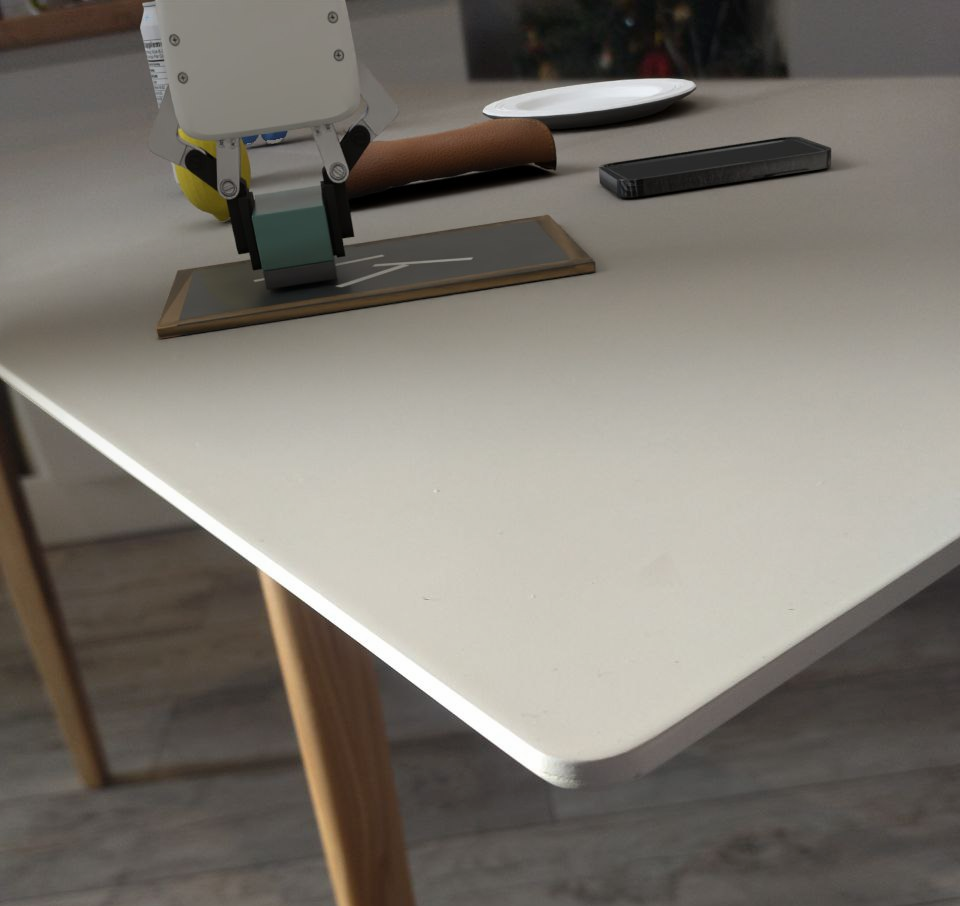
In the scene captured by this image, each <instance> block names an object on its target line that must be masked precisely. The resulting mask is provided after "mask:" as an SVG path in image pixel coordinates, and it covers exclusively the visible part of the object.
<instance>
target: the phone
mask: <svg viewBox="0 0 960 906" xmlns="http://www.w3.org/2000/svg"><path fill="white" fill-rule="evenodd" d="M831 166H832V148H831V147H830V146H828V145H825V144H821V143H818V142H816V141H813V140H810V139H807V138H805V137H802V136H782V137H776V138H769V139H762V140H756V141H749V142H748V141H747V142H742V143H741V142H740V143H736V144H729V145H721V146H715V147H709V148H702V149H696V150H695V149H694V150H689V151H682V152H681V151H680V152H675V153H668V154H662V155H654V156H648V157H643V158H642V157H640V158H635V159H634V158H633V159H627V160H621V161H615V162H609V163H604V164H600V165H599V166H598V178H599V184H600V185H601V186H603V187H604V188H605V189H607V190H608V191H609V192H611V193H612V194H614V195H615V196H617V197H618V198H627V199H628V198H638V197H645V196H650V195H652V196H653V195H657V194H665V193H672V192H678V191H686V190H691V189H697V188H705V187H712V186H717V185H723V184H724V185H725V184H732V183H737V182H745V181H750V180H759V179H763V178H771V177H777V176H784V175H791V174H797V173H803V172H810V171H816V170H817V171H819V170H823V169H827V168H829V167H831Z"/></svg>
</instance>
